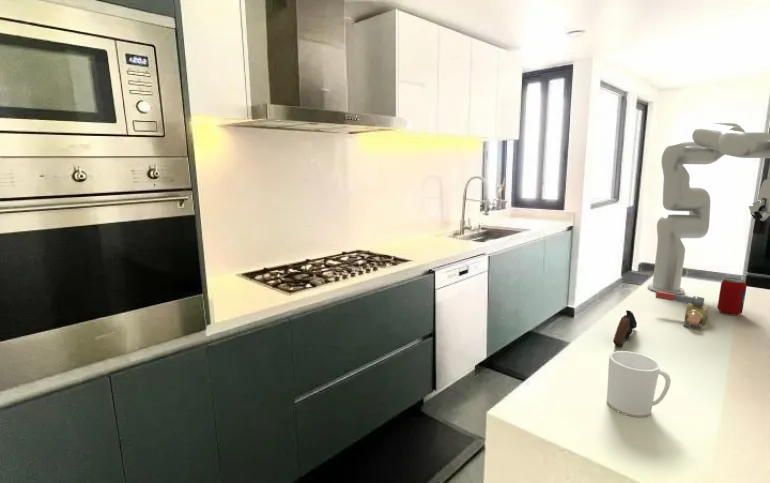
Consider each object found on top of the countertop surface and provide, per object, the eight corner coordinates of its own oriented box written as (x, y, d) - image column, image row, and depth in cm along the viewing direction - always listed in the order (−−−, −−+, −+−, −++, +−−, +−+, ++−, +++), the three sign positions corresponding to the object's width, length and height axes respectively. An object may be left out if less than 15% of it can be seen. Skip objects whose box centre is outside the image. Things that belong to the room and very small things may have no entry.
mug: (598, 405, 85) (603, 360, 83) (612, 390, 91) (616, 347, 90) (659, 429, 77) (666, 379, 76) (670, 410, 84) (676, 364, 82)
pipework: (689, 310, 144) (691, 297, 143) (707, 314, 141) (710, 300, 140) (681, 327, 128) (683, 312, 127) (701, 332, 125) (704, 316, 124)
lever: (703, 305, 134) (704, 297, 133) (702, 307, 132) (703, 299, 131) (656, 296, 142) (657, 289, 142) (655, 298, 140) (656, 291, 140)
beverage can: (747, 316, 139) (753, 282, 137) (727, 316, 139) (732, 282, 137) (731, 309, 146) (736, 277, 144) (711, 309, 146) (716, 277, 144)
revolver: (610, 340, 113) (619, 302, 116) (620, 355, 125) (629, 320, 128) (623, 344, 111) (633, 304, 113) (632, 359, 123) (641, 323, 126)
